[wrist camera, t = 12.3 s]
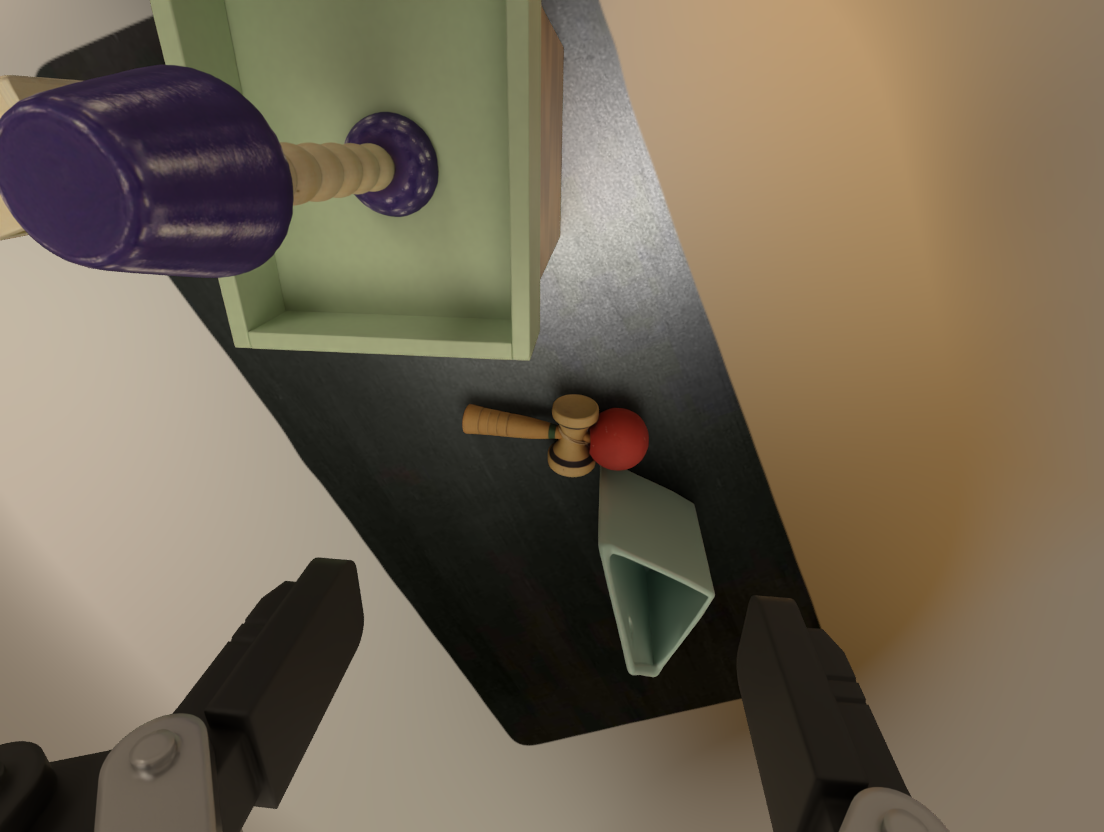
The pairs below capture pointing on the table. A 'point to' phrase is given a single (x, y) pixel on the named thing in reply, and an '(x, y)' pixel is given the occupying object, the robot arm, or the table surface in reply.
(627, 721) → the table surface
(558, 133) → the stand
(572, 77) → the table surface
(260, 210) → the toy lamp
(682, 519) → the planter
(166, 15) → the box
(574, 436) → the kendama
